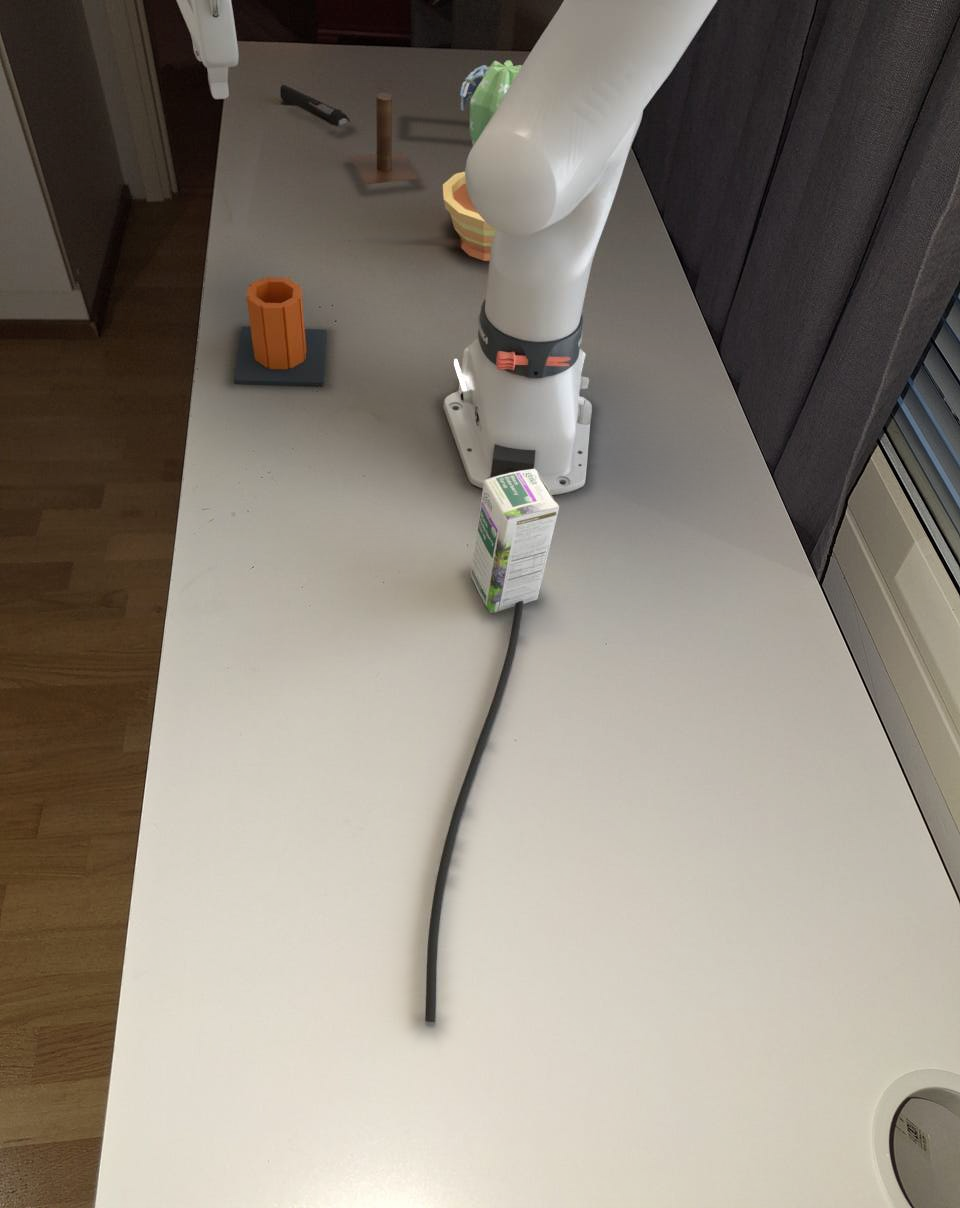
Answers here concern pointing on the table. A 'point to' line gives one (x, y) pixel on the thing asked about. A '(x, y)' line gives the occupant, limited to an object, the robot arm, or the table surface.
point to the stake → (384, 151)
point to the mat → (298, 375)
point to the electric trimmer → (312, 106)
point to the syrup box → (513, 538)
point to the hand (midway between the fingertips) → (211, 77)
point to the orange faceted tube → (277, 322)
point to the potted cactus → (485, 98)
